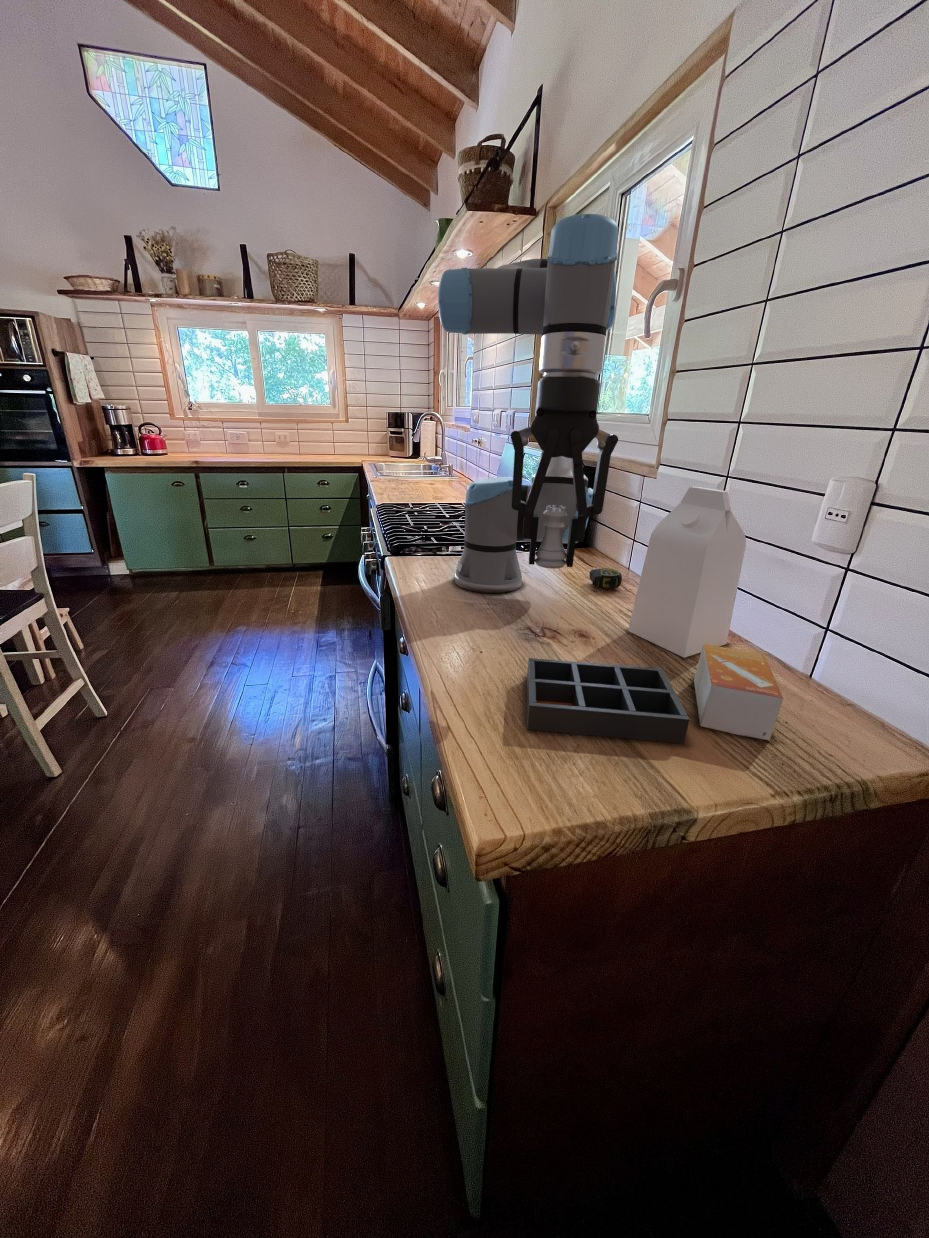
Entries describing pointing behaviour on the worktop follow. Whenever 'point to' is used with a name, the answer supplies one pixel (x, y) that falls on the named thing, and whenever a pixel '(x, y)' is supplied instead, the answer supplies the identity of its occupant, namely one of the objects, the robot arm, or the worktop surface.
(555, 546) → the rook chess piece
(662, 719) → the grid tray
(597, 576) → the tape measure
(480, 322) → the robot arm
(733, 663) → the small box
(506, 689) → the worktop surface
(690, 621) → the milk
